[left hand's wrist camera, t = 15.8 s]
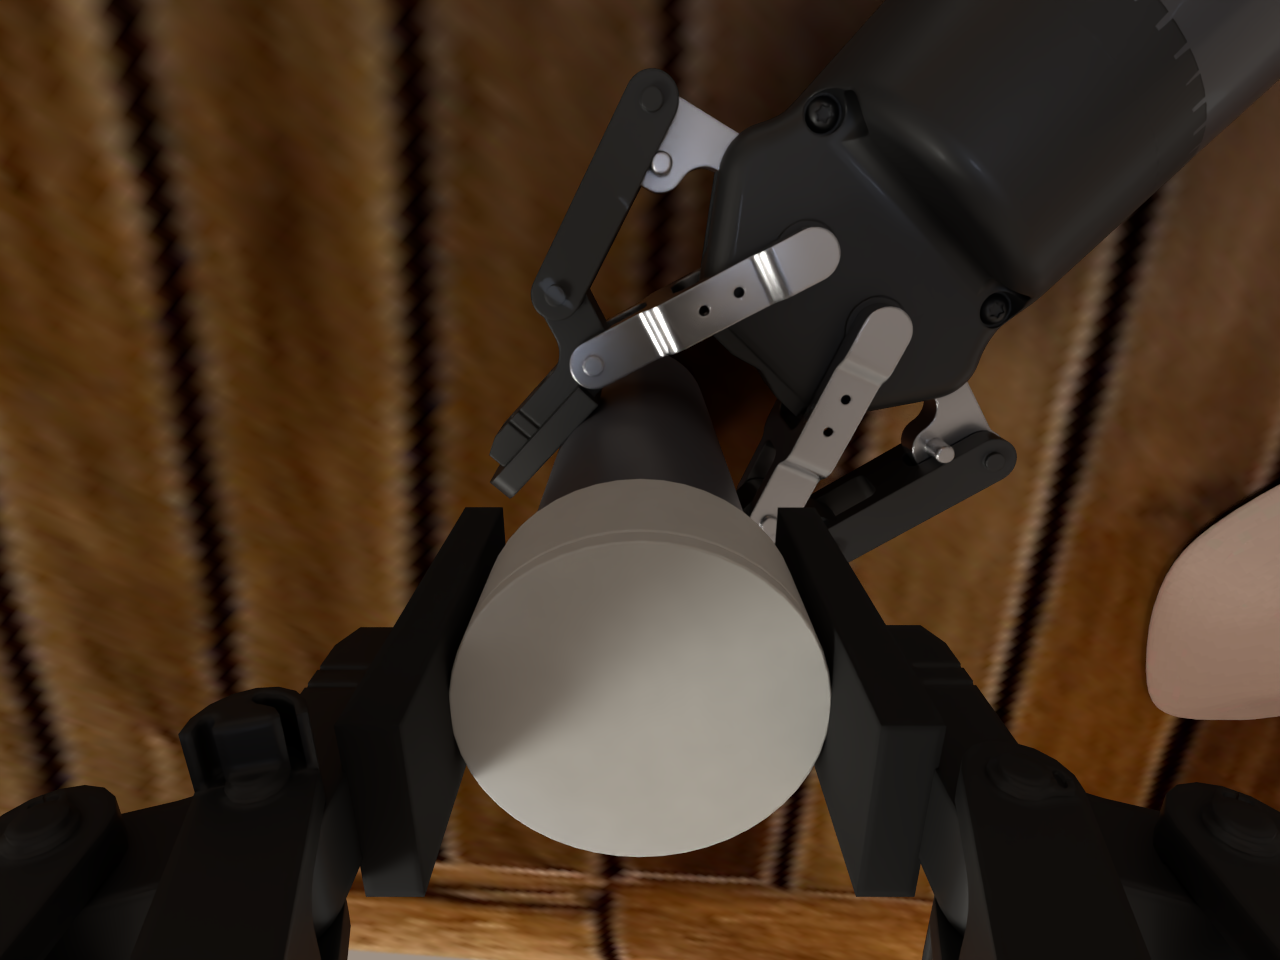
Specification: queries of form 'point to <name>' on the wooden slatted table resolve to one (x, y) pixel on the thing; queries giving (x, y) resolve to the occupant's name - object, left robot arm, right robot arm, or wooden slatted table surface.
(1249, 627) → the anatomical model
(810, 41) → the wooden slatted table surface
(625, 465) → the gray bottle
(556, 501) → the lid
